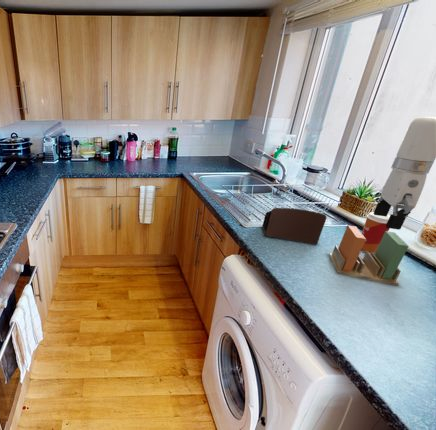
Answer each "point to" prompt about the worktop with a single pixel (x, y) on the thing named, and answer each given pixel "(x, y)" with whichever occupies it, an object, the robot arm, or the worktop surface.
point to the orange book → (351, 246)
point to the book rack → (363, 267)
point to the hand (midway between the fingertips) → (385, 221)
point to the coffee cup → (374, 231)
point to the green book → (390, 253)
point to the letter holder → (294, 224)
